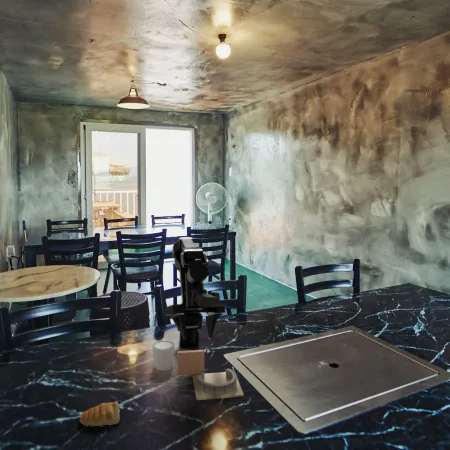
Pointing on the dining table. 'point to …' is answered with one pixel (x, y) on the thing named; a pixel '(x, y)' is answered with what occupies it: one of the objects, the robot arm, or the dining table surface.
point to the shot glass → (163, 355)
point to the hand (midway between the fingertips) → (197, 338)
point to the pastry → (101, 415)
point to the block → (190, 362)
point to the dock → (216, 385)
